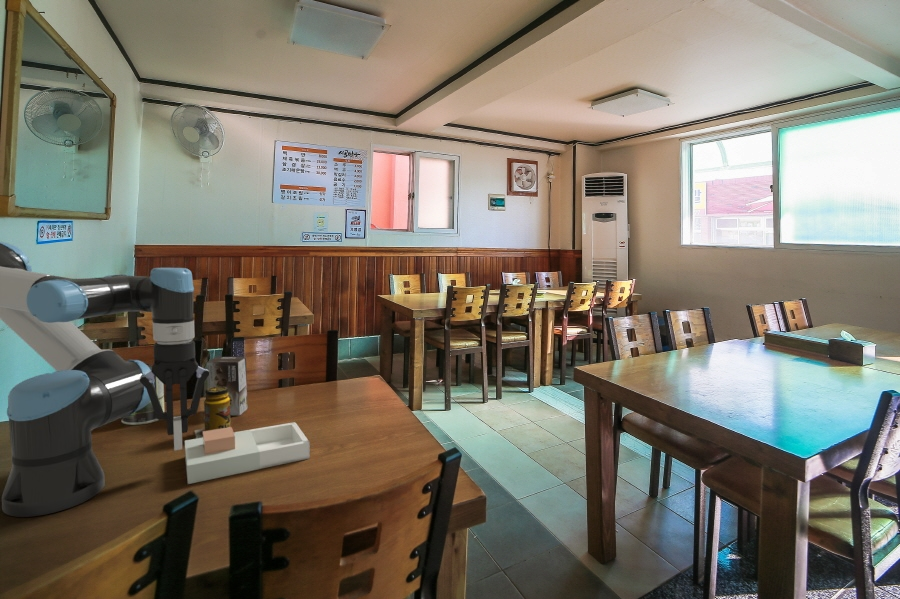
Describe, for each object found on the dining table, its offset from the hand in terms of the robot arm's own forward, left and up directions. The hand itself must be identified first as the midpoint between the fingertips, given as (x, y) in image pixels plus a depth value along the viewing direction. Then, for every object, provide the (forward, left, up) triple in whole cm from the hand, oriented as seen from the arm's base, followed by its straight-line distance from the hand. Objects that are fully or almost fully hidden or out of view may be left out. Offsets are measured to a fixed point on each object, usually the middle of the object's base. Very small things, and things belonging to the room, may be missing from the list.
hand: (178, 447), depth 99 cm
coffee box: (+13, +34, -6) cm, 37 cm away
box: (+21, 0, -5) cm, 22 cm away
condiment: (+8, +19, -6) cm, 22 cm away
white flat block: (+8, 0, -5) cm, 10 cm away
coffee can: (-8, +39, -6) cm, 40 cm away
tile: (+8, 0, -1) cm, 8 cm away
